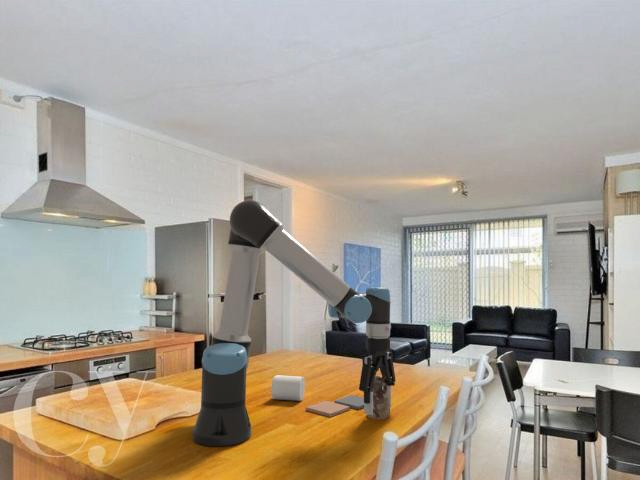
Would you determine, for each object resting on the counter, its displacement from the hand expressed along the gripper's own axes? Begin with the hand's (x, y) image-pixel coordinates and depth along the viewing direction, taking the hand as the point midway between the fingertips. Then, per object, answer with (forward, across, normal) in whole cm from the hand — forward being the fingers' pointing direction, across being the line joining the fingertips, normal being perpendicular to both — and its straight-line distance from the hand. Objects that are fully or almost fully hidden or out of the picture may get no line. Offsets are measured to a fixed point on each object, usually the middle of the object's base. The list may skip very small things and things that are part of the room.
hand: (378, 410), depth 137 cm
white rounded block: (+2, -4, +34) cm, 34 cm away
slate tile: (+2, +6, +13) cm, 14 cm away
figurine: (+2, 0, 0) cm, 2 cm away
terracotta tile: (+2, -6, +15) cm, 16 cm away
